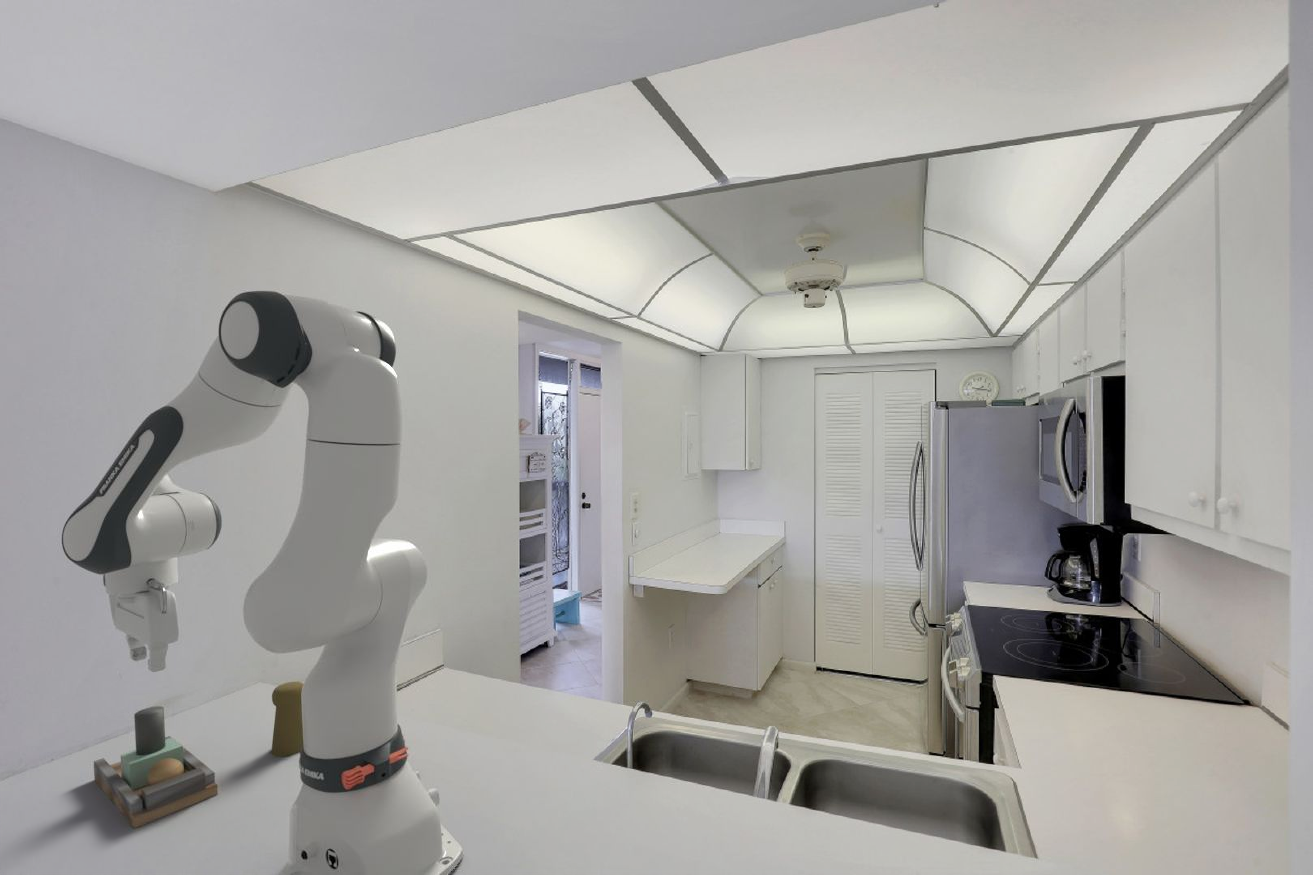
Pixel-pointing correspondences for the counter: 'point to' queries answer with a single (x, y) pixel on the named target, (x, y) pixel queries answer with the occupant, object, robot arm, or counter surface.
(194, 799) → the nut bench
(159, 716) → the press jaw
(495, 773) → the counter surface
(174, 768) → the walnut
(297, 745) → the cork
